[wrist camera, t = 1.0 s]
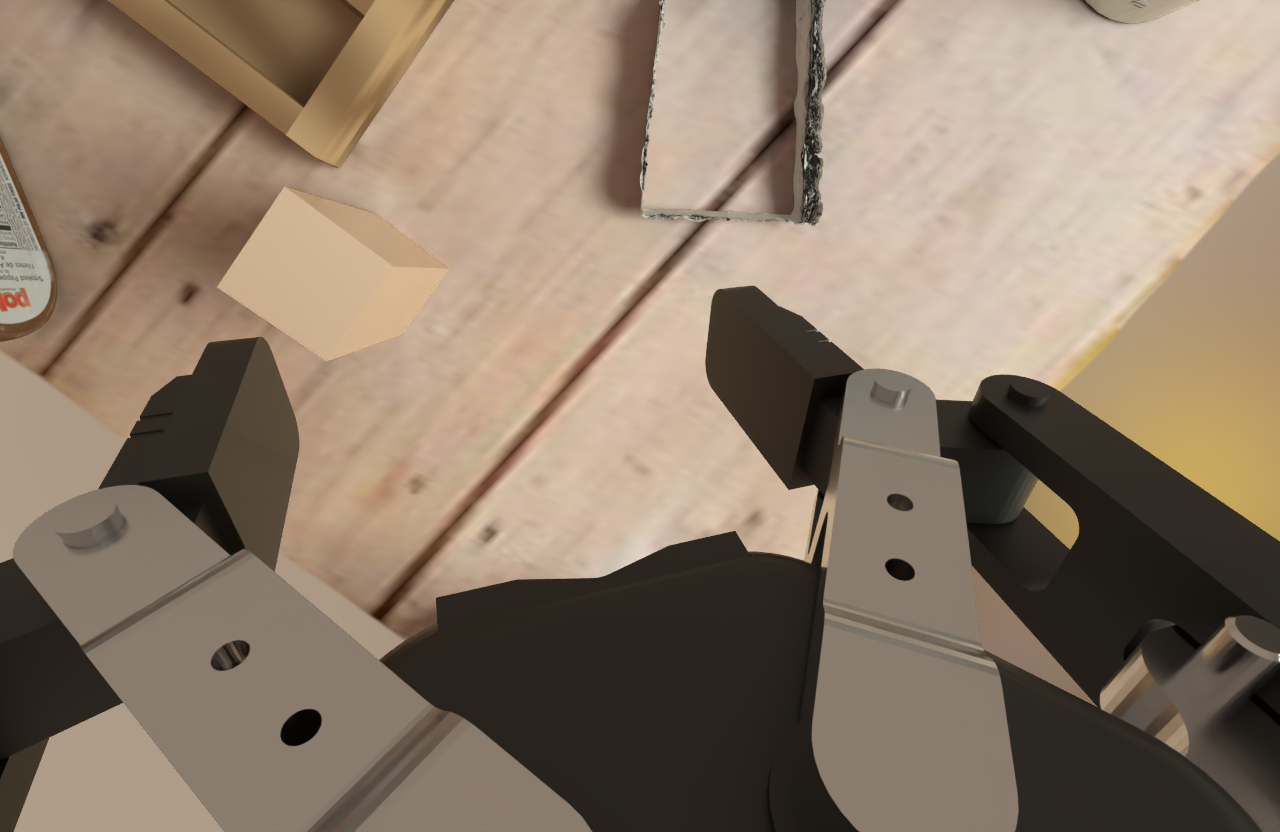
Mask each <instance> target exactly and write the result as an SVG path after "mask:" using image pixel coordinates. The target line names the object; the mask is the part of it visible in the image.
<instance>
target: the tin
mask: <svg viewBox="0 0 1280 832" xmlns="http://www.w3.org/2000/svg"><path fill="white" fill-rule="evenodd" d="M56 299H57V282H56V274H55V270H54V266H53V263H52V260H51V257H50V255H49V252H48V250H47V248H46V245H45V243H44V240H43V238H42V235H41V233H40V231H39V228H38V226H37V223H36V221H35V219H34V216H33V214H32V212H31V209H30V207H29V204H28V202H27V200H26V197H25V195H24V192H23V190H22V187H21V185H20V183H19V180H18V178H17V176H16V173H15V171H14V168H13V166H12V164H11V161H10V159H9V157H8V154H7V152H6V150H5V147H4V145H3V142H2V140H1V138H0V342H3V341H8V340H12V339H16V338H20V337H23V336H25V335H28V334H30V333H32V332H34V331H36V330H38V329H39V328H40V327H42V326H43V325H44V324H45V323H46V322H47V321H48V319H49V318H50V316H51V314H52V312H53V310H54V307H55V303H56Z"/></svg>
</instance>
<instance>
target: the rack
mask: <svg viewBox="0 0 1280 832" xmlns="http://www.w3.org/2000/svg"><path fill="white" fill-rule="evenodd" d="M108 1H109V2H110V3H112V4H113V5H114V6H116V7H117V8H118V9H120V10H121V11H122V12H123V13H125V14H126V15H127V16H129V17H130V18H131V19H133V20H134V21H135V22H137V23H138V24H139V25H141V26H142V27H143V28H145V29H146V30H147V31H149V32H150V33H151V34H153V35H154V36H155V37H157V38H158V39H159V40H161V41H162V42H163V43H165V44H166V45H167V46H169V47H170V48H171V49H172V50H174V51H175V52H176V53H178V54H179V55H180V56H182V57H183V58H184V59H186V60H187V61H188V62H190V63H191V64H192V65H194V66H195V67H196V68H198V69H199V70H200V71H202V72H203V73H204V74H206V75H207V76H208V77H210V78H211V79H212V80H214V81H215V82H216V83H217V84H219V85H220V86H221V87H223V88H224V89H225V90H227V91H228V92H229V93H231V94H232V95H233V96H235V97H236V98H237V99H239V100H240V101H241V102H243V103H244V104H245V105H247V106H248V107H249V108H251V109H252V110H253V111H255V112H256V113H257V114H259V115H260V116H261V117H263V118H264V119H265V120H266V121H268V122H269V123H270V124H272V125H273V126H274V127H276V128H277V129H278V130H280V131H281V132H282V133H284V134H285V135H286V136H288V137H289V138H290V139H292V140H293V141H294V142H296V143H297V144H298V145H300V146H301V147H302V148H304V149H305V150H306V151H308V152H309V153H310V154H311V155H313V156H314V157H316V158H318V159H320V160H323V161H325V162H327V163H329V164H331V165H334V166H336V167H338V168H340V167H341V166H342V164H343V163H344V161H345V160H346V158H347V157H348V155H349V154H350V153H351V151H352V150H353V148H354V147H355V145H356V144H357V142H358V141H359V139H360V138H361V136H362V135H363V133H364V132H365V130H366V129H367V128H368V126H369V125H370V123H371V122H372V120H373V119H374V117H375V116H376V114H377V113H378V111H379V110H380V108H381V107H382V105H383V104H384V102H385V101H386V100H387V98H388V97H389V95H390V94H391V92H392V91H393V89H394V88H395V86H396V85H397V83H398V82H399V80H400V79H401V77H402V76H403V75H404V73H405V72H406V70H407V69H408V67H409V66H410V64H411V63H412V61H413V60H414V58H415V57H416V55H417V54H418V52H419V51H420V50H421V48H422V47H423V45H424V44H425V42H426V41H427V39H428V38H429V36H430V35H431V33H432V32H433V30H434V29H435V27H436V26H437V25H438V23H439V22H440V20H441V19H442V17H443V16H444V14H445V13H446V11H447V10H448V8H449V7H450V5H451V4H452V2H453V1H454V0H108Z"/></svg>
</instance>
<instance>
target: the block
mask: <svg viewBox="0 0 1280 832" xmlns="http://www.w3.org/2000/svg"><path fill="white" fill-rule="evenodd" d="M448 271H449V268H448V267H447V266H445V265H444V264H443V263H441V262H440V261H439V260H437V259H436V258H435V257H433V256H432V255H431V254H429V253H428V252H427V251H425V250H424V249H423V248H421V247H420V246H419V245H417V244H416V243H415V242H413V241H412V240H411V239H409V238H408V237H407V236H405V235H404V234H403V233H402V232H400V231H399V230H398V229H396V228H395V227H394V226H392V225H391V224H390V223H388V222H387V221H386V220H384V219H383V218H382V217H380V216H379V215H377V214H374V213H370V212H367V211H364V210H360V209H357V208H354V207H350V206H347V205H344V204H341V203H337V202H334V201H331V200H327V199H324V198H321V197H317V196H314V195H311V194H308V193H304V192H301V191H298V190H294V189H291V188H288V187H284V188H283V189H282V191H281V192H280V194H279V195H278V197H277V198H276V200H275V201H274V203H273V204H272V206H271V207H270V209H269V210H268V212H267V213H266V215H265V216H264V218H263V219H262V221H261V222H260V224H259V225H258V227H257V228H256V230H255V231H254V233H253V234H252V235H251V237H250V238H249V240H248V241H247V243H246V244H245V246H244V247H243V249H242V250H241V252H240V253H239V255H238V256H237V258H236V259H235V261H234V262H233V264H232V265H231V267H230V268H229V270H228V271H227V273H226V274H225V276H224V277H223V279H222V280H221V282H220V283H219V285H218V286H217V288H219V289H220V290H222V291H223V292H225V293H226V294H228V295H229V296H231V297H232V298H234V299H235V300H236V301H238V302H239V303H241V304H242V305H244V306H245V307H247V308H248V309H250V310H251V311H253V312H254V313H256V314H257V315H259V316H260V317H262V318H263V319H265V320H266V321H268V322H269V323H271V324H272V325H273V326H275V327H276V328H278V329H279V330H281V331H282V332H284V333H285V334H287V335H288V336H290V337H291V338H293V339H294V340H296V341H297V342H299V343H300V344H302V345H303V346H305V347H306V348H308V349H309V350H311V351H312V352H313V353H315V354H316V355H318V356H319V357H321V358H322V359H324V360H325V361H329V360H332V359H334V358H337V357H340V356H343V355H345V354H348V353H351V352H354V351H357V350H359V349H362V348H365V347H368V346H370V345H373V344H376V343H379V342H382V341H384V340H387V339H390V338H393V337H396V336H398V335H401V334H403V333H404V332H405V330H406V329H407V327H408V326H409V325H410V323H411V322H412V320H413V319H414V318H415V316H416V315H417V314H418V312H419V311H420V309H421V308H422V307H423V305H424V304H425V302H426V301H427V300H428V298H429V297H430V295H431V294H432V293H433V291H434V290H435V289H436V287H437V286H438V284H439V283H440V282H441V280H442V279H443V277H444V276H445V275H446V273H447V272H448Z"/></svg>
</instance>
